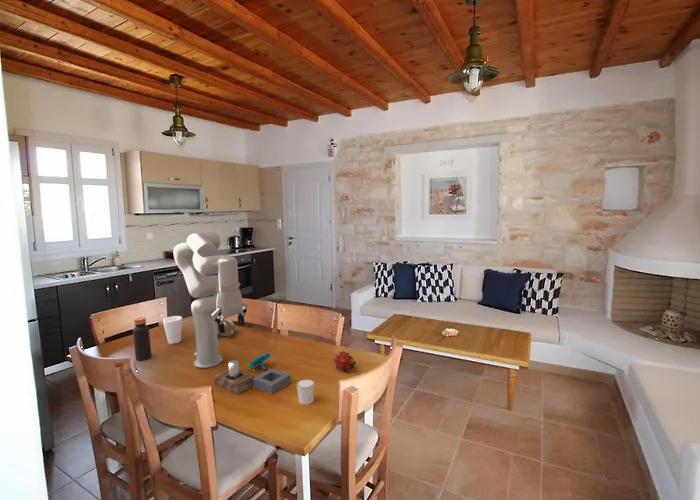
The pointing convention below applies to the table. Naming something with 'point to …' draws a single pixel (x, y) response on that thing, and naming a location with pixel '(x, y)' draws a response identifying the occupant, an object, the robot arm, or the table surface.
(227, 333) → the ceramic sculpture
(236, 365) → the axle
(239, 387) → the brown rectangular frame
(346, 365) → the dragon fruit
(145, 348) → the bottle
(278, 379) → the socket block
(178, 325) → the foam cup
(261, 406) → the table surface
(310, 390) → the white fluted cup
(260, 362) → the gear
